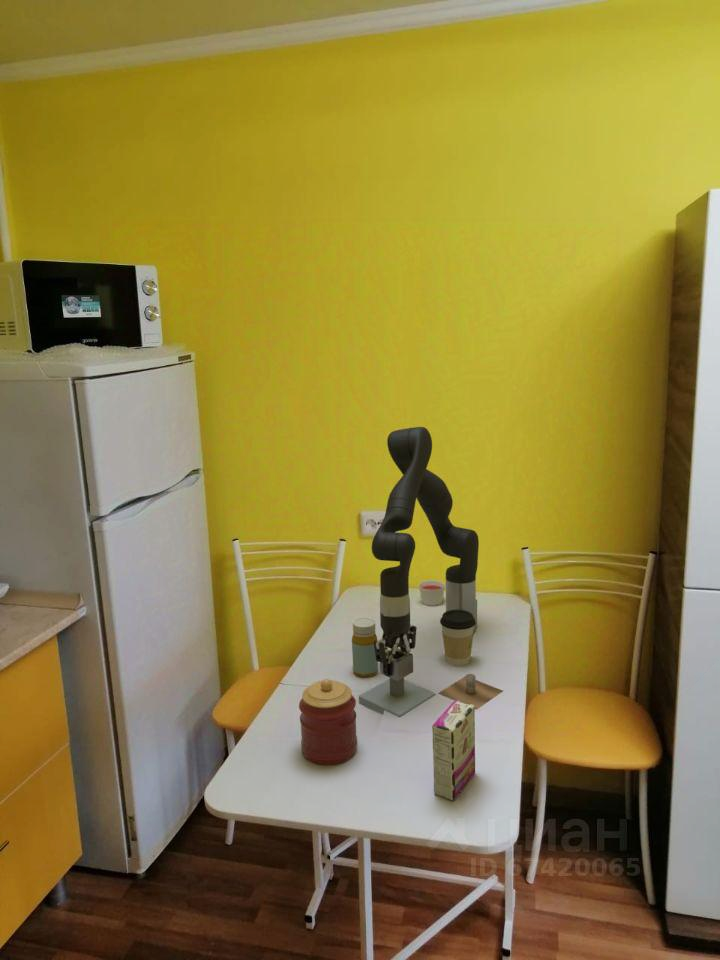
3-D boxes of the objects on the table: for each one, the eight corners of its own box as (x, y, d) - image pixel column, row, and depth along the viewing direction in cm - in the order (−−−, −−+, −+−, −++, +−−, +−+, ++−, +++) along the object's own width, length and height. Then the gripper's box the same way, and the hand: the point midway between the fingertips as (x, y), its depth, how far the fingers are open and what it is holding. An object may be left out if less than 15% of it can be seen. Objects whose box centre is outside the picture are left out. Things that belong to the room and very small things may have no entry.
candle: (419, 597, 254) (419, 580, 253) (445, 597, 253) (444, 580, 252) (418, 607, 245) (418, 589, 244) (445, 607, 244) (445, 590, 243)
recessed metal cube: (395, 664, 189) (395, 647, 188) (413, 672, 185) (412, 654, 184) (380, 673, 185) (379, 655, 183) (397, 681, 180) (397, 662, 179)
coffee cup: (482, 663, 205) (482, 614, 201) (462, 677, 198) (462, 626, 194) (453, 653, 211) (453, 605, 208) (433, 666, 204) (432, 616, 201)
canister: (304, 733, 174) (300, 666, 170) (358, 733, 173) (356, 665, 169) (298, 766, 161) (294, 695, 157) (356, 766, 160) (353, 694, 156)
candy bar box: (454, 766, 159) (454, 698, 156) (475, 772, 157) (476, 704, 153) (432, 794, 150) (431, 723, 146) (454, 802, 148) (453, 730, 144)
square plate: (394, 682, 196) (394, 655, 194) (435, 700, 186) (435, 671, 185) (358, 703, 186) (357, 674, 185) (400, 722, 177) (399, 693, 175)
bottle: (348, 675, 201) (346, 625, 197) (360, 664, 207) (358, 615, 203) (371, 680, 198) (369, 629, 194) (382, 669, 204) (381, 619, 200)
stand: (465, 681, 196) (465, 660, 194) (503, 696, 187) (503, 674, 186) (438, 698, 187) (437, 677, 186) (476, 715, 179) (476, 693, 178)
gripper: (402, 597, 188) (403, 656, 192) (364, 614, 178) (366, 676, 182) (424, 604, 183) (425, 665, 187) (386, 622, 173) (388, 686, 177)
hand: (396, 670), depth 184 cm, fingers closed on recessed metal cube, 6 cm apart
